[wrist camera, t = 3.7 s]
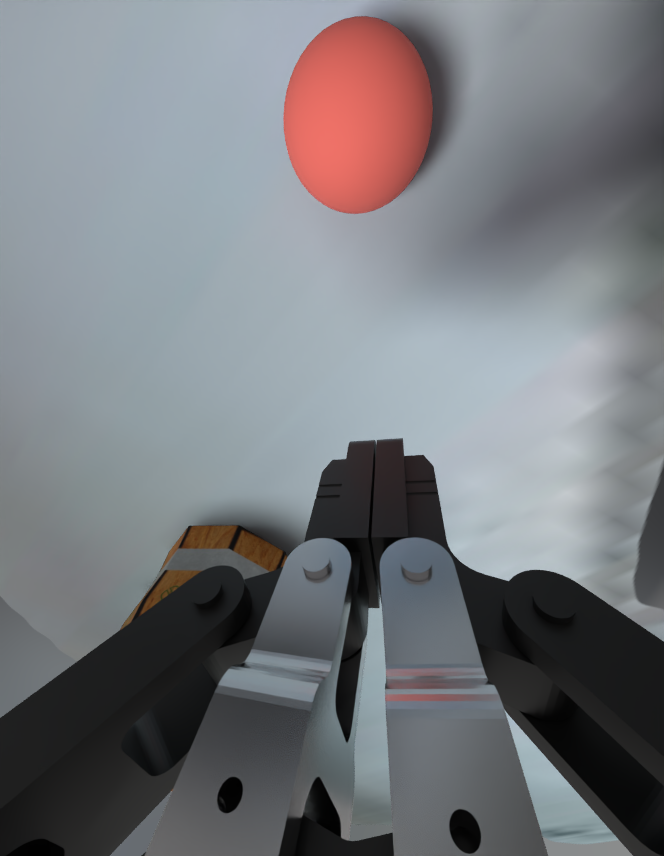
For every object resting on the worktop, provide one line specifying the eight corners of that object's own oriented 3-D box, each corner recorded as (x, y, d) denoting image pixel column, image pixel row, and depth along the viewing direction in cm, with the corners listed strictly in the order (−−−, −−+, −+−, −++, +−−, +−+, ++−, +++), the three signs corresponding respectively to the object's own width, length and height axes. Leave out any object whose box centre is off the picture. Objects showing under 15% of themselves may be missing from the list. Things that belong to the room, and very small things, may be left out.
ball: (313, 223, 19) (286, 226, 14) (288, 74, 16) (243, 9, 11) (426, 201, 18) (443, 196, 13) (422, 36, 15) (442, -56, 10)
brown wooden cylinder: (242, 504, 31) (143, 705, 18) (322, 593, 36) (288, 797, 24) (105, 559, 38) (-34, 731, 25) (188, 626, 43) (107, 797, 31)
